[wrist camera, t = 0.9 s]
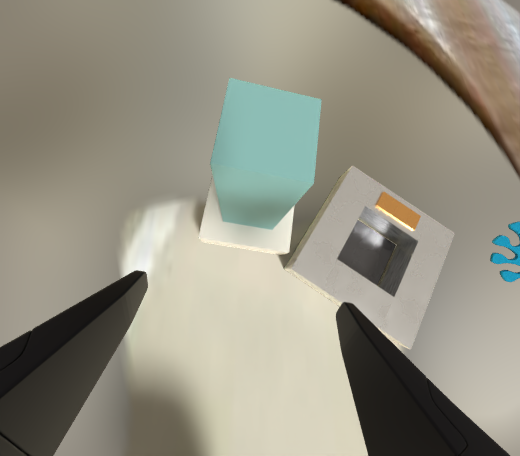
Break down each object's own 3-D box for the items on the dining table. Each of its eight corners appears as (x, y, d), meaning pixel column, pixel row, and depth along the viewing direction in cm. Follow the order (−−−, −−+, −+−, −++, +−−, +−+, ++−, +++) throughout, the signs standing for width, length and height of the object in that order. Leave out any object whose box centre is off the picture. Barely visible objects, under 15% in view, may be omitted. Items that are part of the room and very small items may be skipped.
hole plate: (388, 339, 22) (412, 350, 19) (283, 269, 23) (291, 268, 20) (430, 237, 26) (456, 233, 23) (339, 177, 26) (353, 164, 23)
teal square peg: (272, 229, 20) (313, 183, 10) (222, 221, 20) (210, 163, 9) (278, 184, 22) (321, 99, 11) (231, 175, 21) (229, 77, 10)
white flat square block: (282, 255, 23) (289, 252, 20) (203, 242, 22) (198, 237, 19) (290, 183, 25) (298, 171, 22) (218, 169, 24) (216, 155, 21)
